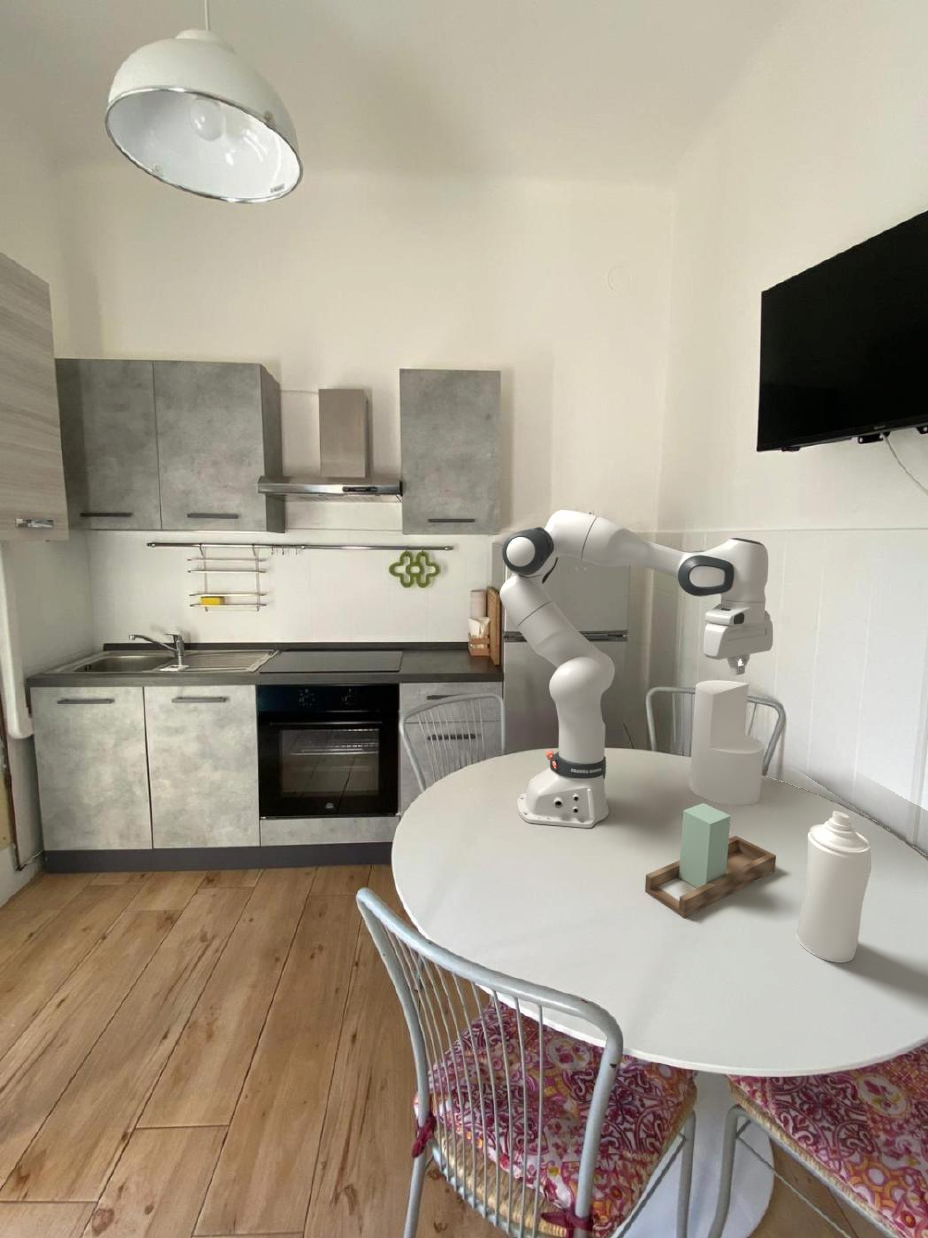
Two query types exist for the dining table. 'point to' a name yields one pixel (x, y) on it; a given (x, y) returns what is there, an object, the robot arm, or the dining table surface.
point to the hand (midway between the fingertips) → (737, 674)
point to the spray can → (834, 889)
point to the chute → (740, 871)
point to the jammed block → (703, 845)
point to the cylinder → (724, 745)
